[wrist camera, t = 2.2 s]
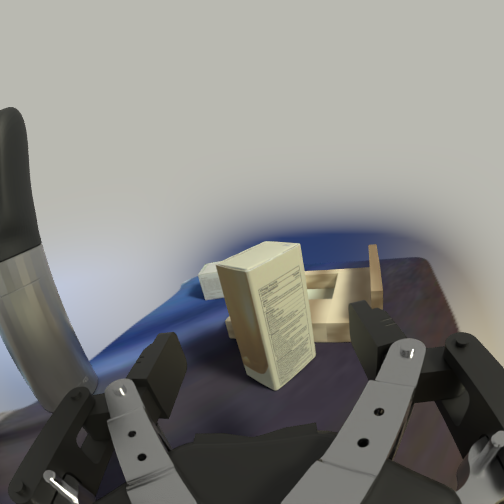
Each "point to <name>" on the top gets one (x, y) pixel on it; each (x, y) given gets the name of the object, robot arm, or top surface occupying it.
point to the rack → (338, 298)
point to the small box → (210, 282)
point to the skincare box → (269, 310)
